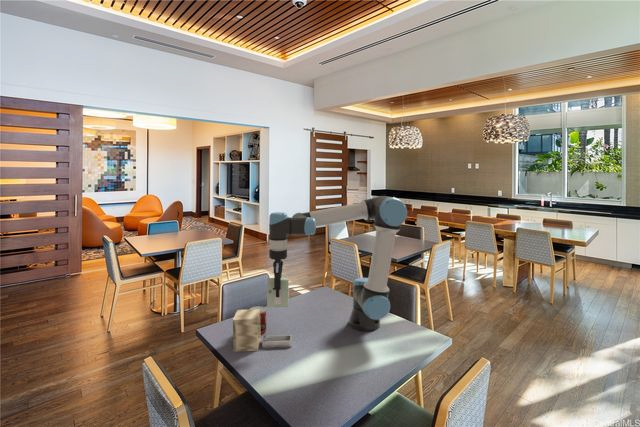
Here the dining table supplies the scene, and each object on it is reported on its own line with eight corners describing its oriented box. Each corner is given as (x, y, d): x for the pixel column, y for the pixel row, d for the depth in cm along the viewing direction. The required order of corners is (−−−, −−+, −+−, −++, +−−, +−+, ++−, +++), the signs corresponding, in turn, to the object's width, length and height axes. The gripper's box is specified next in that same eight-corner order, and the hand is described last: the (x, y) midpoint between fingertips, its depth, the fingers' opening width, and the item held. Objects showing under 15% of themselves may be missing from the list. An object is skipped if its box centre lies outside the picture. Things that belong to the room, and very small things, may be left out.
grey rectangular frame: (292, 340, 146) (292, 334, 146) (291, 346, 141) (291, 341, 141) (263, 341, 146) (263, 335, 145) (262, 347, 140) (262, 342, 140)
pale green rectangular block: (288, 304, 143) (288, 277, 142) (288, 307, 139) (288, 280, 138) (267, 304, 143) (267, 277, 141) (266, 308, 139) (266, 280, 137)
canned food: (263, 336, 150) (262, 313, 149) (246, 334, 152) (246, 312, 150) (268, 328, 157) (268, 306, 156) (253, 327, 159) (252, 305, 158)
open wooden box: (260, 338, 148) (259, 309, 146) (257, 350, 138) (257, 319, 136) (238, 339, 147) (237, 309, 145) (233, 351, 137) (232, 319, 135)
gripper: (270, 244, 146) (270, 295, 149) (267, 253, 130) (267, 309, 133) (287, 244, 147) (287, 295, 149) (286, 253, 131) (285, 309, 133)
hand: (278, 301), depth 141 cm, fingers closed on pale green rectangular block, 3 cm apart
